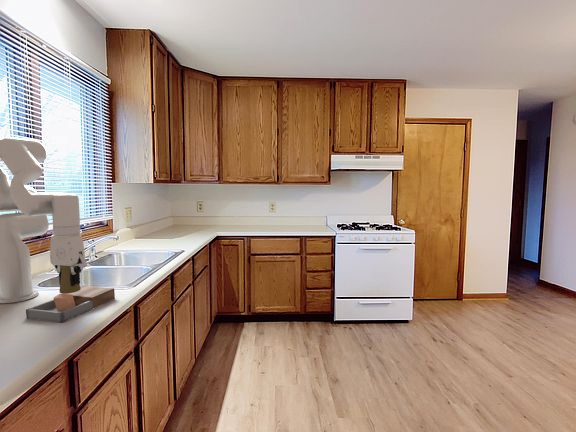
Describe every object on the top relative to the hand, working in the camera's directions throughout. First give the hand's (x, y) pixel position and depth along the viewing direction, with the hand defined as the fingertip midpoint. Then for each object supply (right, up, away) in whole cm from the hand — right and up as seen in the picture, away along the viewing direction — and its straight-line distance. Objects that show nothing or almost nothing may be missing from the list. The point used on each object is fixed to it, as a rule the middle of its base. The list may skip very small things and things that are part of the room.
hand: (69, 283), depth 113 cm
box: (0, -9, -4) cm, 10 cm away
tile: (+1, -5, -2) cm, 6 cm away
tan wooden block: (+2, -8, +6) cm, 10 cm away
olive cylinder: (0, -2, 0) cm, 3 cm away
